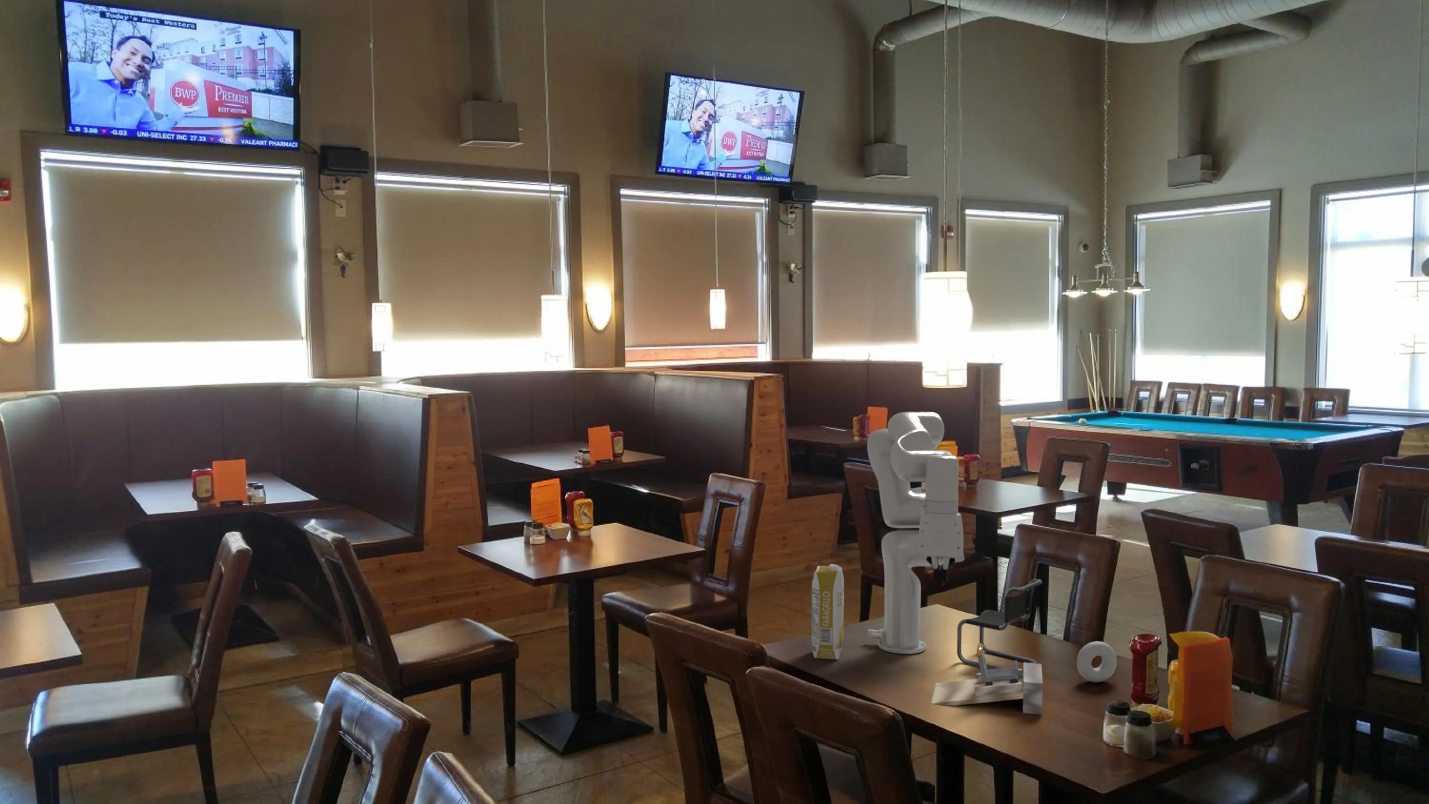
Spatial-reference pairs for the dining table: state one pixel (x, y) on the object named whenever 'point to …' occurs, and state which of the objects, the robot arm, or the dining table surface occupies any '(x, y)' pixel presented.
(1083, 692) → the dining table surface
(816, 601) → the juice carton
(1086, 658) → the donut
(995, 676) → the trolley
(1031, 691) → the dock
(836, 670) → the dining table surface
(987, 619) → the chair
